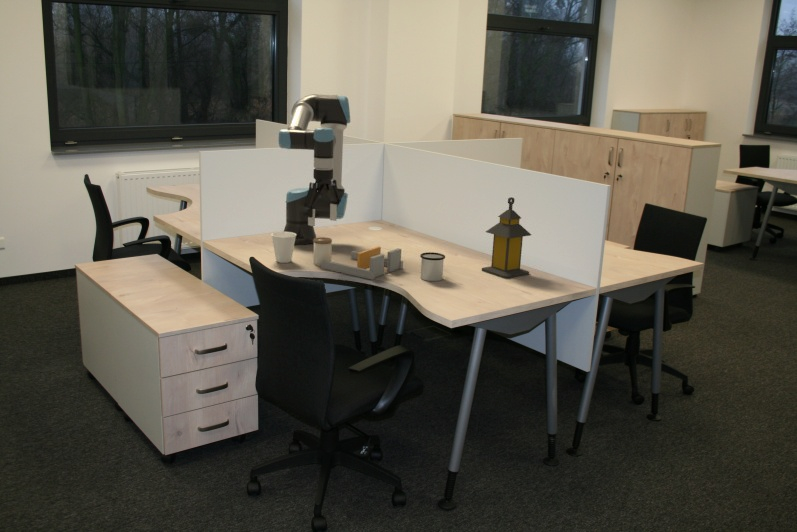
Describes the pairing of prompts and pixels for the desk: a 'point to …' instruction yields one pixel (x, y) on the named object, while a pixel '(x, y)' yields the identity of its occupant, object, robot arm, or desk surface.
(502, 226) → the lantern
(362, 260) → the pusher
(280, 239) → the cup
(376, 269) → the lane
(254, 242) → the desk surface
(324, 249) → the jar
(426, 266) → the mug
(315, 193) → the robot arm
